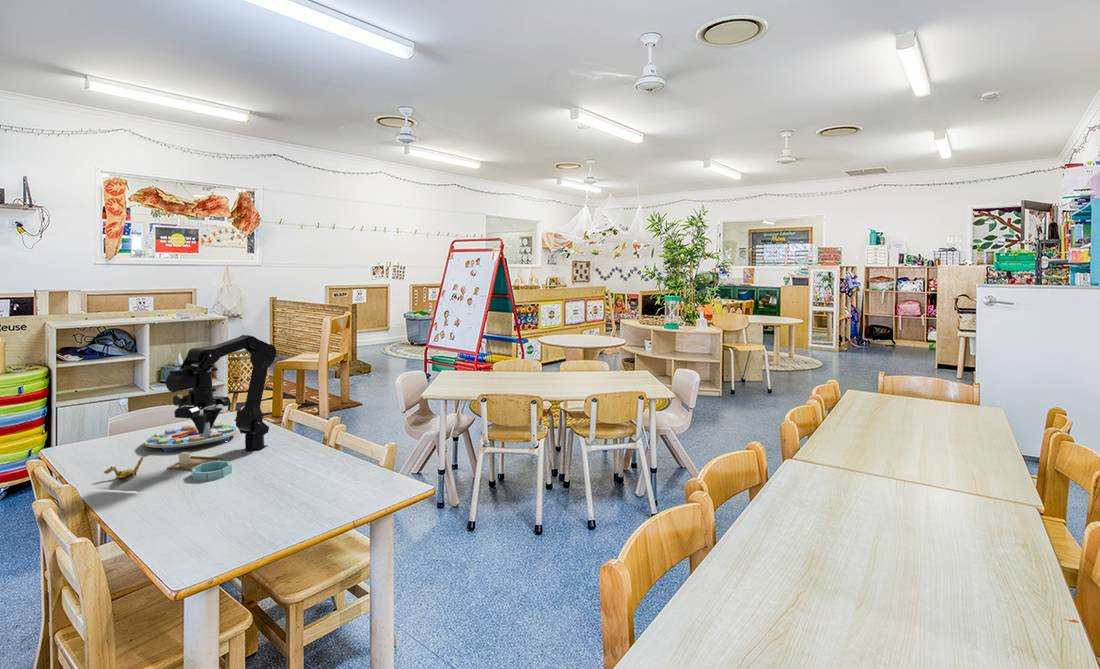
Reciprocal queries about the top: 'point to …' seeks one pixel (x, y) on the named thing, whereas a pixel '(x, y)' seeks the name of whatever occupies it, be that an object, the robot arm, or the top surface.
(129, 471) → the olive plastic animal figure
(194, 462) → the parts tray
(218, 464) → the bowl
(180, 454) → the sand beige cylinder
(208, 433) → the grey rounded cylinder
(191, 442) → the shape sorting clock
